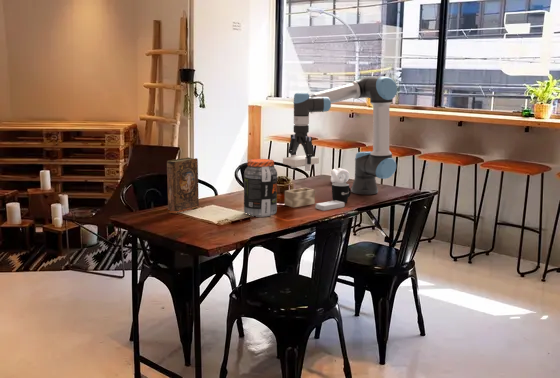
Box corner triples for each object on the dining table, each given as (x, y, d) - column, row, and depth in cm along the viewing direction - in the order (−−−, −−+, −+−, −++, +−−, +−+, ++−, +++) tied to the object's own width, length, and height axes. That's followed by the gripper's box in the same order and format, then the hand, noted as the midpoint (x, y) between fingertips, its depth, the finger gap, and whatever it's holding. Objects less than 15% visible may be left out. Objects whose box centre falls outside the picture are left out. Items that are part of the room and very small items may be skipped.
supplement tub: (279, 217, 268) (280, 162, 263) (245, 218, 265) (245, 163, 260) (274, 209, 283) (274, 157, 278) (242, 210, 281) (242, 157, 275)
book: (174, 214, 271) (173, 162, 266) (166, 212, 274) (164, 161, 269) (198, 208, 284) (197, 158, 279) (190, 206, 287) (189, 157, 282)
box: (305, 202, 298) (306, 187, 297) (314, 205, 293) (314, 189, 291) (284, 206, 290) (284, 190, 288) (293, 208, 284) (293, 193, 283)
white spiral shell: (342, 186, 342) (343, 171, 341) (325, 183, 349) (325, 169, 347) (351, 183, 352) (351, 168, 350) (333, 180, 358) (334, 166, 356)
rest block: (336, 205, 292) (336, 200, 291) (344, 208, 287) (344, 202, 287) (315, 209, 283) (315, 203, 283) (323, 212, 279) (323, 206, 278)
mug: (340, 206, 291) (340, 186, 289) (327, 203, 298) (328, 184, 296) (356, 203, 299) (357, 184, 297) (343, 200, 305) (344, 181, 303)
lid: (305, 162, 296) (305, 155, 295) (318, 165, 288) (318, 157, 287) (282, 165, 287) (282, 157, 286) (295, 168, 279) (295, 160, 278)
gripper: (281, 123, 289) (281, 166, 294) (310, 127, 272) (309, 173, 277) (292, 122, 294) (292, 165, 299) (322, 126, 276) (321, 171, 281)
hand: (300, 169), depth 288 cm, fingers closed on lid, 10 cm apart
